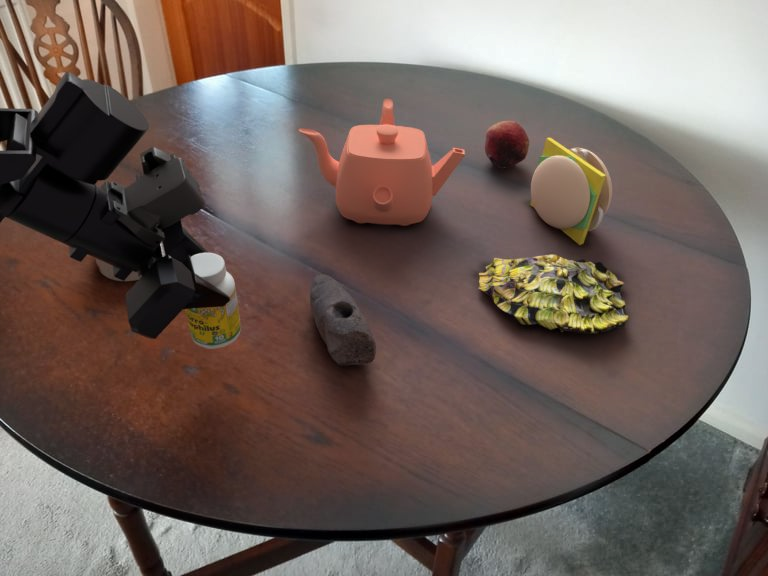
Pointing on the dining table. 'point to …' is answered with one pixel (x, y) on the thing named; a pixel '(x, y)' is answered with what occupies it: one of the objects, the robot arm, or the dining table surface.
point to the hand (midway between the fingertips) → (222, 284)
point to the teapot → (384, 172)
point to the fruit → (506, 144)
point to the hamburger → (571, 189)
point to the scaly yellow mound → (556, 293)
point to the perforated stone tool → (341, 323)
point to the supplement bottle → (214, 322)
